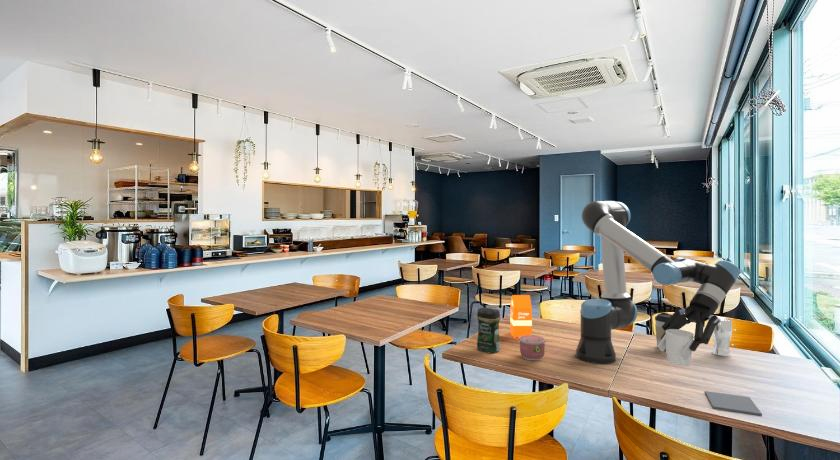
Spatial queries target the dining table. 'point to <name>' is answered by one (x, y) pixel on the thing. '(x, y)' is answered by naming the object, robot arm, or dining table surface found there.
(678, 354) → the white cup
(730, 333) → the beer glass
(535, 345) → the container
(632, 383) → the dining table surface
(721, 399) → the rubber mat
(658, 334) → the coffee cup
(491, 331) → the coffee jar
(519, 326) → the orange juice
